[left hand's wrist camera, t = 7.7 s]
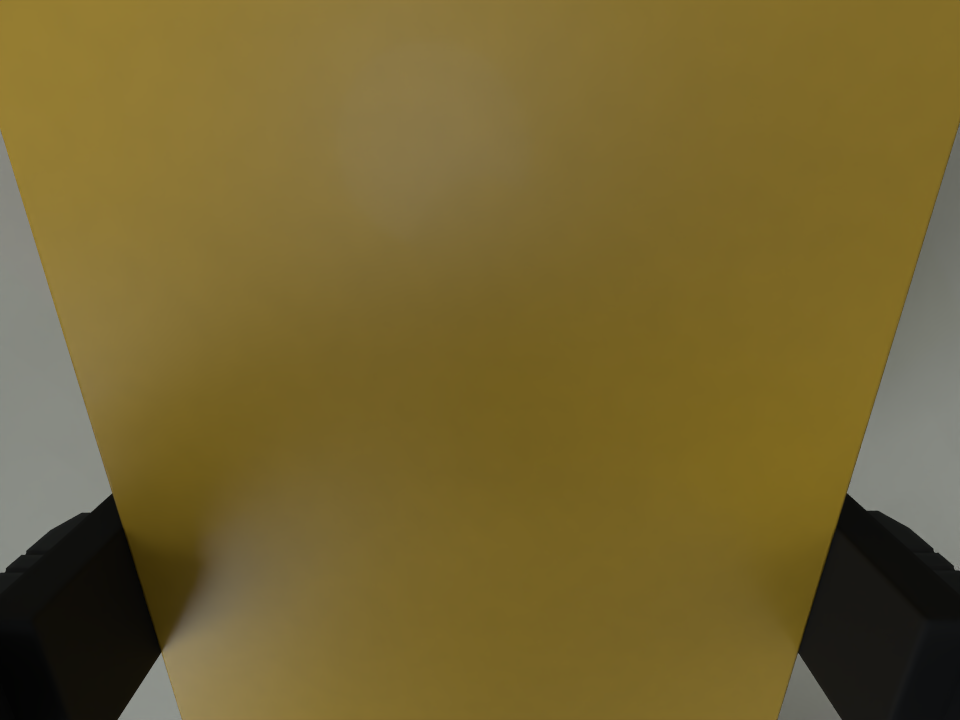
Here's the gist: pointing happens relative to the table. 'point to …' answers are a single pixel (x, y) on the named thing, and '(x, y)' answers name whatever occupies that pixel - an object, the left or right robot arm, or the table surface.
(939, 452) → the table surface
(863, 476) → the table surface
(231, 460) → the yellow two-tone block
